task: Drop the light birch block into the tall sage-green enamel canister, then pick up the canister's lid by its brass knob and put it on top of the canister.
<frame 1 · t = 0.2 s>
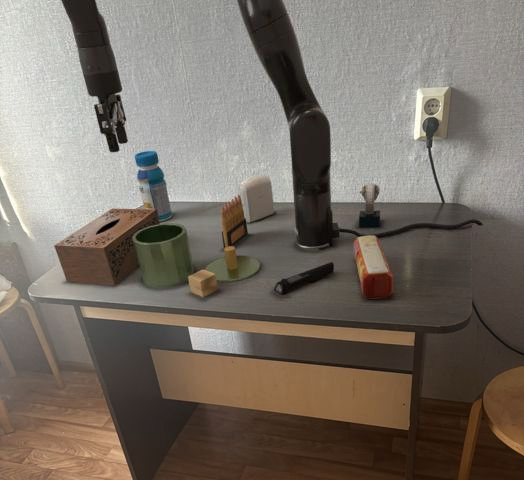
hand: (119, 147, 121), 29 cm above the table, tool pointing down, fingers open, 8 cm apart
electric trimmer: (304, 284, 117), on the table
block: (204, 292, 118), on the table
tissue box cover: (118, 262, 138), on the table
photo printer: (258, 218, 155), on the table
ammunition clip: (236, 243, 141), on the table
canister: (169, 277, 127), on the table
beverage bottle: (159, 218, 164), on the table
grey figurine: (369, 225, 142), on the table
lid: (232, 269, 126), point 1 cm above the table
snack package: (370, 278, 116), on the table
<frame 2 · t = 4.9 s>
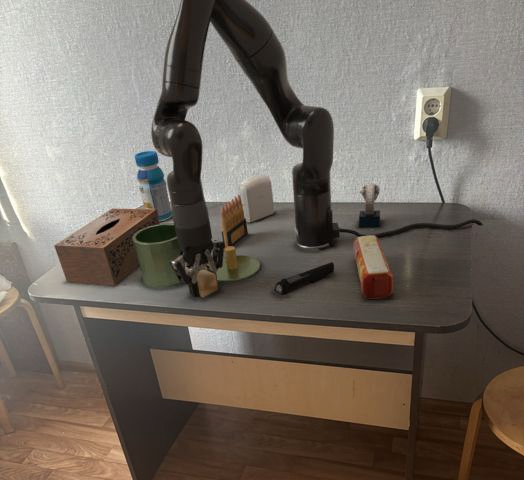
hand: (204, 291, 118), 0 cm above the table, tool pointing down, fingers closed on block, 4 cm apart
block: (204, 292, 118), on the table, touching gripper
everything else where it was.
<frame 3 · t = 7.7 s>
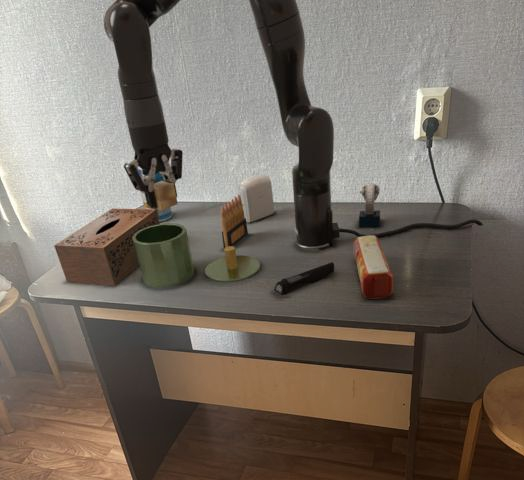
hand: (163, 203, 113), 19 cm above the table, tool pointing down, fingers closed on block, 4 cm apart
block: (163, 205, 113), point 19 cm above the table, touching gripper
everything else where it was.
when the fingers open (11 cm above the table, at t = 10.6 s): block drops 10 cm, resting on canister.
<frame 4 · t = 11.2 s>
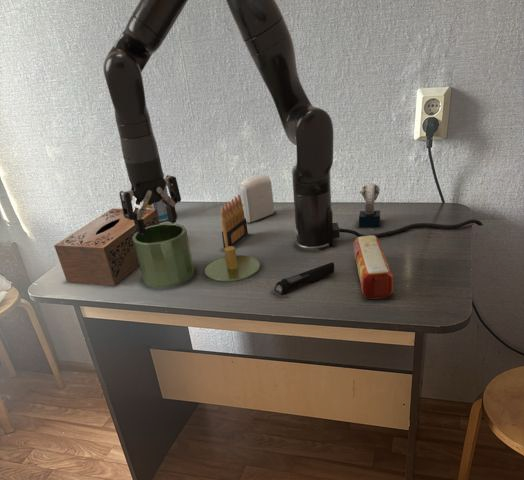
hand: (158, 228, 120), 13 cm above the table, tool pointing down, fingers open, 8 cm apart
block: (168, 275, 127), point 1 cm above the table, touching canister
everything else where it was.
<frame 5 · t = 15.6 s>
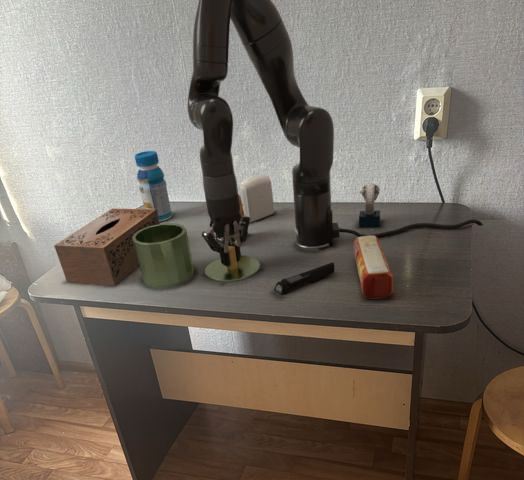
hand: (231, 262, 125), 2 cm above the table, tool pointing down, fingers closed on lid, 2 cm apart
lid: (232, 269, 126), point 1 cm above the table, touching gripper
everything else where it was.
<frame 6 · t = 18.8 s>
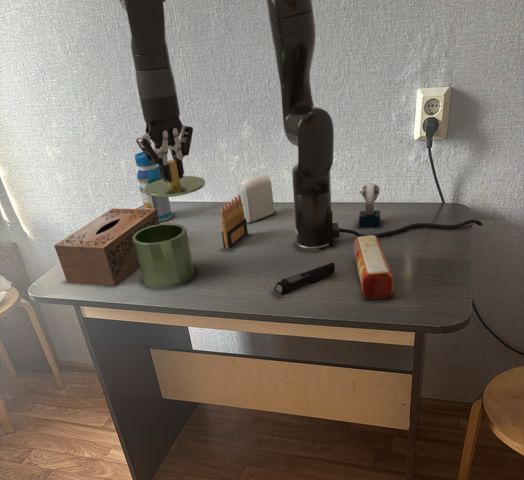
hand: (173, 179, 113), 24 cm above the table, tool pointing down, fingers closed on lid, 2 cm apart
lid: (175, 187, 114), point 22 cm above the table, touching gripper
everything else where it was.
when the fingers open (13 cm above the table, at t = 22.0 s): lid stays where it is, resting on canister.
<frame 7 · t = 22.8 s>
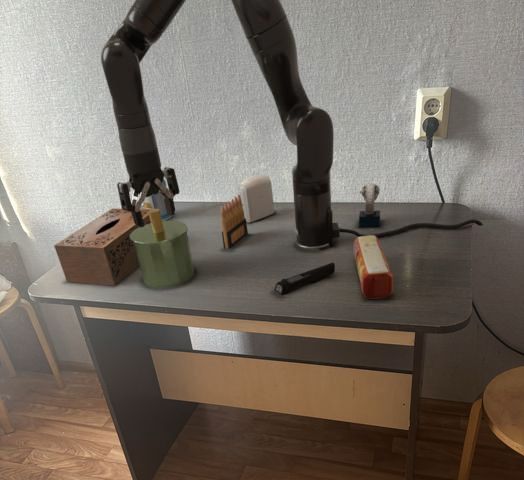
hand: (156, 220, 119), 15 cm above the table, tool pointing down, fingers open, 8 cm apart
lid: (159, 233, 121), point 11 cm above the table, touching canister
everything else where it was.
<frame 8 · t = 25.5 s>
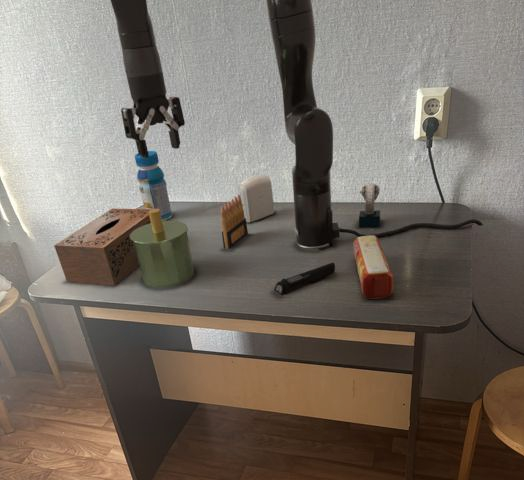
hand: (160, 152, 116), 28 cm above the table, tool pointing down, fingers open, 8 cm apart
nothing on the table moved.
at the end: block inside the target area in the canister (0.2 cm from its centre), point 0.5 cm above the canister's base; lid 0.0 cm off-centre on the canister, point 11.5 cm above the canister's base; lid tilted 0° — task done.
